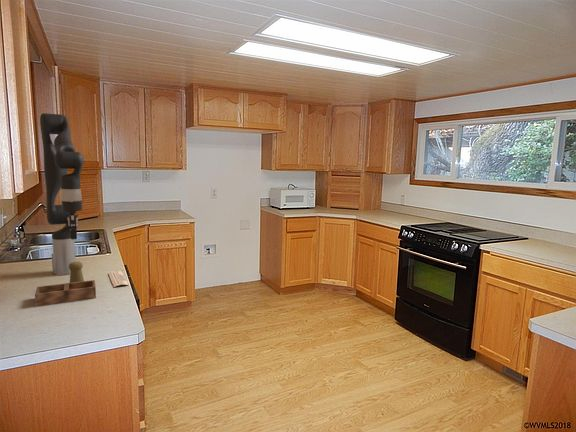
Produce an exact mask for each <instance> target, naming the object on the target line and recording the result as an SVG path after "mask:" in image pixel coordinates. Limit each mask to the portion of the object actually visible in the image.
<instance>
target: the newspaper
mask: <svg viewBox="0 0 576 432" xmlns="http://www.w3.org/2000/svg"><path fill="white" fill-rule="evenodd" d="M108 277H109V279H110V282H111V284H112V286H113V288H116V287H118V286H122V285H123V286H126V287H128V286H130V285H129V282H128V281H127V280H126V278H125V276H124V274H123V272H122V271H120V270H114V271H110V272H108Z"/></svg>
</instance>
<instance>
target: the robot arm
mask: <svg viewBox="0 0 576 432" xmlns="http://www.w3.org/2000/svg"><path fill="white" fill-rule="evenodd" d="M39 125H40V132H41V139H42V150H43V171H44V178H45V179H44V181H45V190H46V193H45V194H46V220H47V223H48V224H49V225H51V226H52V225H53V226H54V225H64V226H63V227H62V228H60V229H58V230H55V231H53V232H52V233H51V241H52V243H51V244H52V253H51V264H52V274H54V275H57V276H66V275H70V273H71V270H70V269H69V264H70V263H72V262H77V259H76V246H75V243H76V242H75V240H77V239H78V231H77V230H78V226H79V222H78V221H79V214H77V212H81V211H82V210H83V196H82V195H83V194H82V190H81V174H82V173H81V172H82V169H83V166H84V162H85V158H84V156H83V154H82V153H81V152H79V151H76V150H75V147H74V143H73V141H72V135H71V129H70V123H69V119H68V117H67V116H66V115H64V114H60V113H57V114H56V113H46V112H45V113H41V114H40V117H39ZM51 135H56V136H55V137H54V140H52V138H51ZM69 169H70V170H71V169H72V170H73V171H72V172H71V173H68V170H69ZM60 190H61V193H60V196H61V198H60V199H61V204H55V201H56V198H57V196H58V193H59V191H60Z"/></svg>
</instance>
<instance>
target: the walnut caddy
mask: <svg viewBox="0 0 576 432" xmlns="http://www.w3.org/2000/svg"><path fill="white" fill-rule="evenodd" d="M95 281H96V280H95V279H92V280H86V281H85V280H84V281H82V282H73V283H70V282H65V283H56V284H51V285H50V284H49V285H42V286H41V285H40V286H39V285H38V286H37V287H36V291H35V293H34V301H35V302H34V303H35V307H38V306H39V307H40V306H46V305H53V304H61V303H69V302H75V301H84V300H90V299H97V293H96V292H97V291H96V282H95Z"/></svg>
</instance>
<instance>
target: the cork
mask: <svg viewBox="0 0 576 432" xmlns="http://www.w3.org/2000/svg"><path fill="white" fill-rule="evenodd" d="M83 266H84V265H83V262H81V261H76V262H72V263H70V264H69V269H70V270H71V273H70V274H69V275H70V277H69V283H73V282H82V281H85V279H84V276H83V271H82V269H83Z"/></svg>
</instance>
